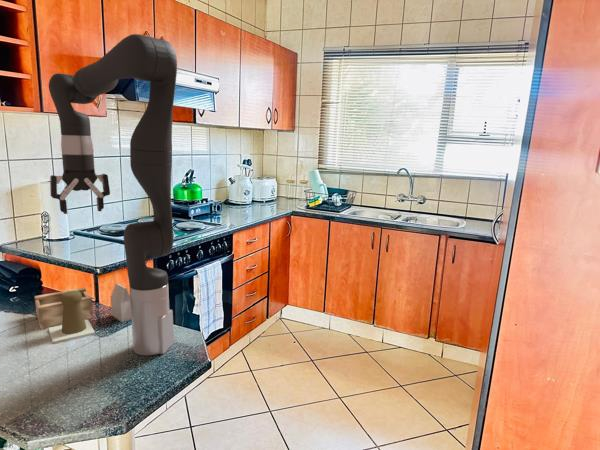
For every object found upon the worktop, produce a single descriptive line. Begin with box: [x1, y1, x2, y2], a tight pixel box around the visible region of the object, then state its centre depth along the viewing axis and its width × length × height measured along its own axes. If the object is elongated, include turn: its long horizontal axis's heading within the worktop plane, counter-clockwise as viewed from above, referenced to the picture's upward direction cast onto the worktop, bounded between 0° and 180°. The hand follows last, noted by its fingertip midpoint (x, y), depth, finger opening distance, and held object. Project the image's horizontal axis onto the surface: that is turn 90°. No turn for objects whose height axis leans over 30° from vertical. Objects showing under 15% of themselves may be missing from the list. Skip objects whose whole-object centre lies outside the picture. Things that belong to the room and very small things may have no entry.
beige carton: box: [110, 283, 132, 323], centre depth 124 cm, size 4×7×10 cm, turn 48°
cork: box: [60, 290, 86, 334], centre depth 113 cm, size 6×6×11 cm
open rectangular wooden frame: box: [34, 287, 94, 330], centre depth 123 cm, size 14×11×6 cm
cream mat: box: [48, 319, 96, 345], centre depth 114 cm, size 10×10×1 cm
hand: (82, 212), depth 113 cm, fingers open, 8 cm apart
